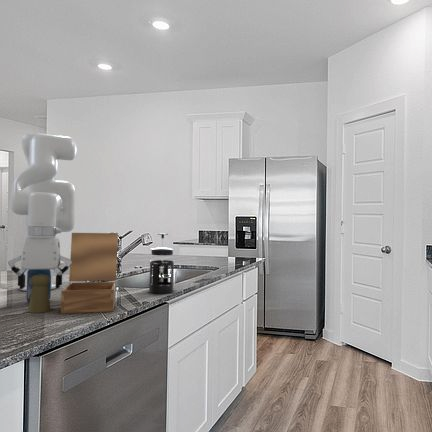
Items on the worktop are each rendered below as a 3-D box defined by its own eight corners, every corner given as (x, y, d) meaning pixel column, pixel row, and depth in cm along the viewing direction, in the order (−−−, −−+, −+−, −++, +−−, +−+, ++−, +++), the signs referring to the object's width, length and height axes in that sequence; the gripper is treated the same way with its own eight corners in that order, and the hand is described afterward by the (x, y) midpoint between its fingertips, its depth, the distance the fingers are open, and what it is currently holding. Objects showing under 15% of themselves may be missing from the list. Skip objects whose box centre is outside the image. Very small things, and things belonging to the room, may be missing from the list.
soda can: (52, 300, 147) (53, 265, 147) (47, 304, 140) (48, 267, 140) (29, 300, 145) (30, 265, 145) (23, 304, 138) (24, 267, 138)
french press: (155, 288, 174) (156, 232, 174) (177, 290, 173) (179, 233, 173) (142, 294, 162) (144, 233, 162) (166, 295, 161) (168, 234, 161)
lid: (117, 233, 150) (118, 233, 151) (71, 232, 145) (72, 232, 146) (116, 280, 148) (116, 280, 148) (69, 281, 143) (69, 281, 143)
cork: (40, 313, 128) (41, 276, 128) (23, 311, 129) (24, 275, 129) (55, 309, 134) (56, 274, 134) (38, 307, 135) (39, 272, 135)
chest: (113, 311, 133) (113, 289, 133) (60, 313, 128) (61, 291, 128) (115, 301, 148) (116, 281, 148) (68, 303, 143) (69, 282, 143)
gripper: (74, 232, 138) (73, 285, 138) (12, 231, 132) (11, 286, 132) (71, 233, 131) (69, 289, 131) (5, 232, 125) (4, 291, 125)
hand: (40, 287), depth 132 cm, fingers open, 9 cm apart
